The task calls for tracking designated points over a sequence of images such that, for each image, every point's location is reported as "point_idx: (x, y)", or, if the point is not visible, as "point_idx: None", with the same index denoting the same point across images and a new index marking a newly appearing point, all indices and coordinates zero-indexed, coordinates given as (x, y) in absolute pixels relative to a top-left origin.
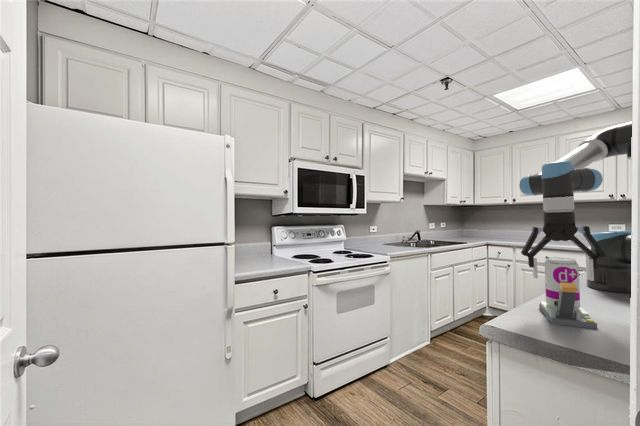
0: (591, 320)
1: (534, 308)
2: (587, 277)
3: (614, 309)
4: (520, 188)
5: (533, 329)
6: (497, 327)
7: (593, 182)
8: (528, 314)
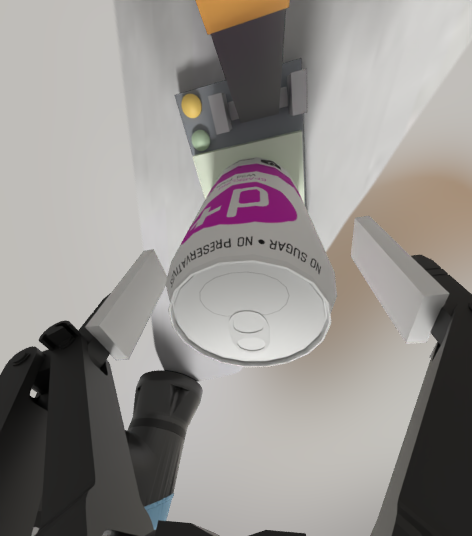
0: (187, 103)
1: (316, 219)
2: (164, 279)
3: None
4: None
5: None
6: None
7: None
8: (350, 142)
